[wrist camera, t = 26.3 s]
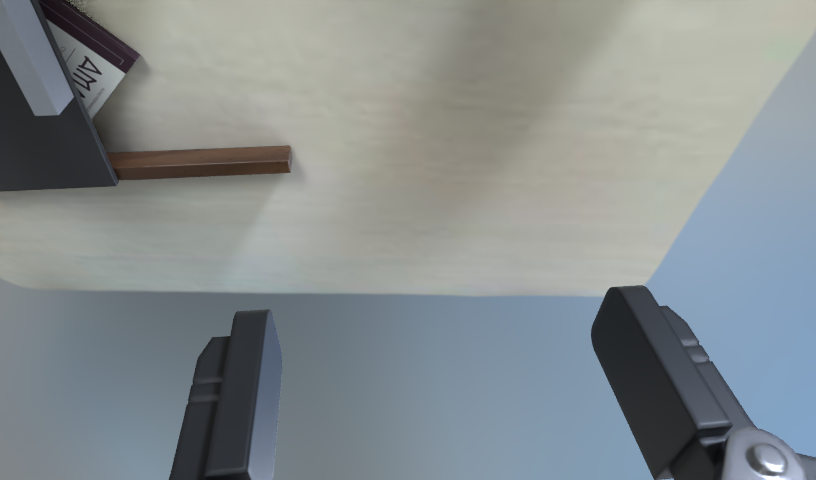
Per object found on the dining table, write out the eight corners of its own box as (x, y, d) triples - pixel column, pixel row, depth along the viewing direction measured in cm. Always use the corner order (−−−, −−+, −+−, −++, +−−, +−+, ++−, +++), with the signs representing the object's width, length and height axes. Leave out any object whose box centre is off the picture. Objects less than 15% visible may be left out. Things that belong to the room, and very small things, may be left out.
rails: (-344, -270, 22) (-397, -274, 21) (228, -250, 25) (221, -252, 23) (-38, 171, 38) (-54, 188, 37) (292, 158, 41) (290, 173, 39)
